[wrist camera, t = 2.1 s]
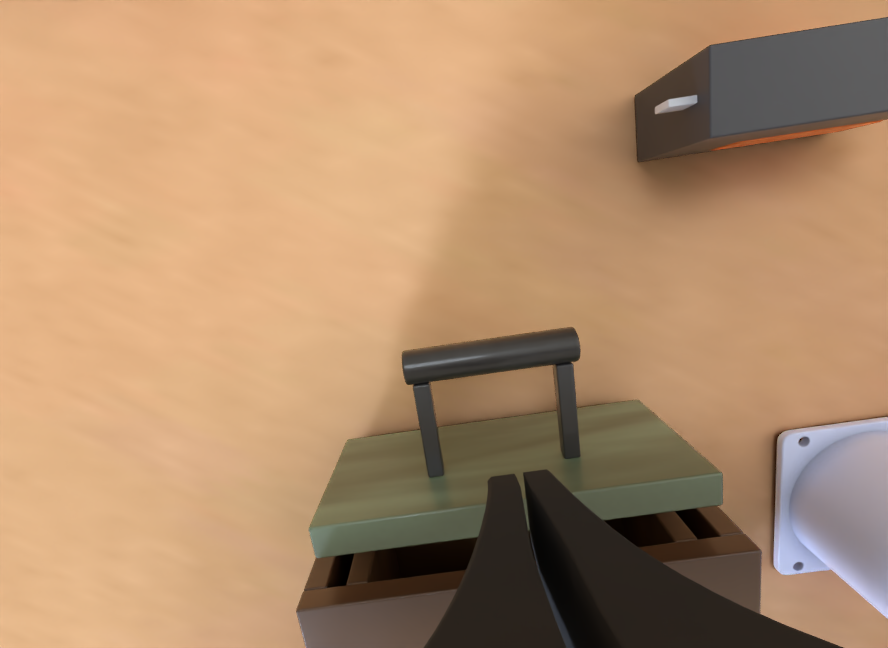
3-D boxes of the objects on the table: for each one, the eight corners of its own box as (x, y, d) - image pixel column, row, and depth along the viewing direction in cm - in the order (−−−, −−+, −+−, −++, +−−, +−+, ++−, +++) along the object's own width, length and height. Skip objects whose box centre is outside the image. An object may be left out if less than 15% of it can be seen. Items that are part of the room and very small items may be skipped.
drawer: (325, 339, 19) (272, 390, 13) (633, 294, 18) (723, 326, 12) (396, 670, 23) (381, 824, 17) (649, 638, 22) (724, 784, 17)
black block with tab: (833, 63, 17) (988, -2, 12) (829, 134, 18) (975, 99, 13) (612, 97, 17) (678, 47, 13) (615, 166, 18) (681, 144, 13)
